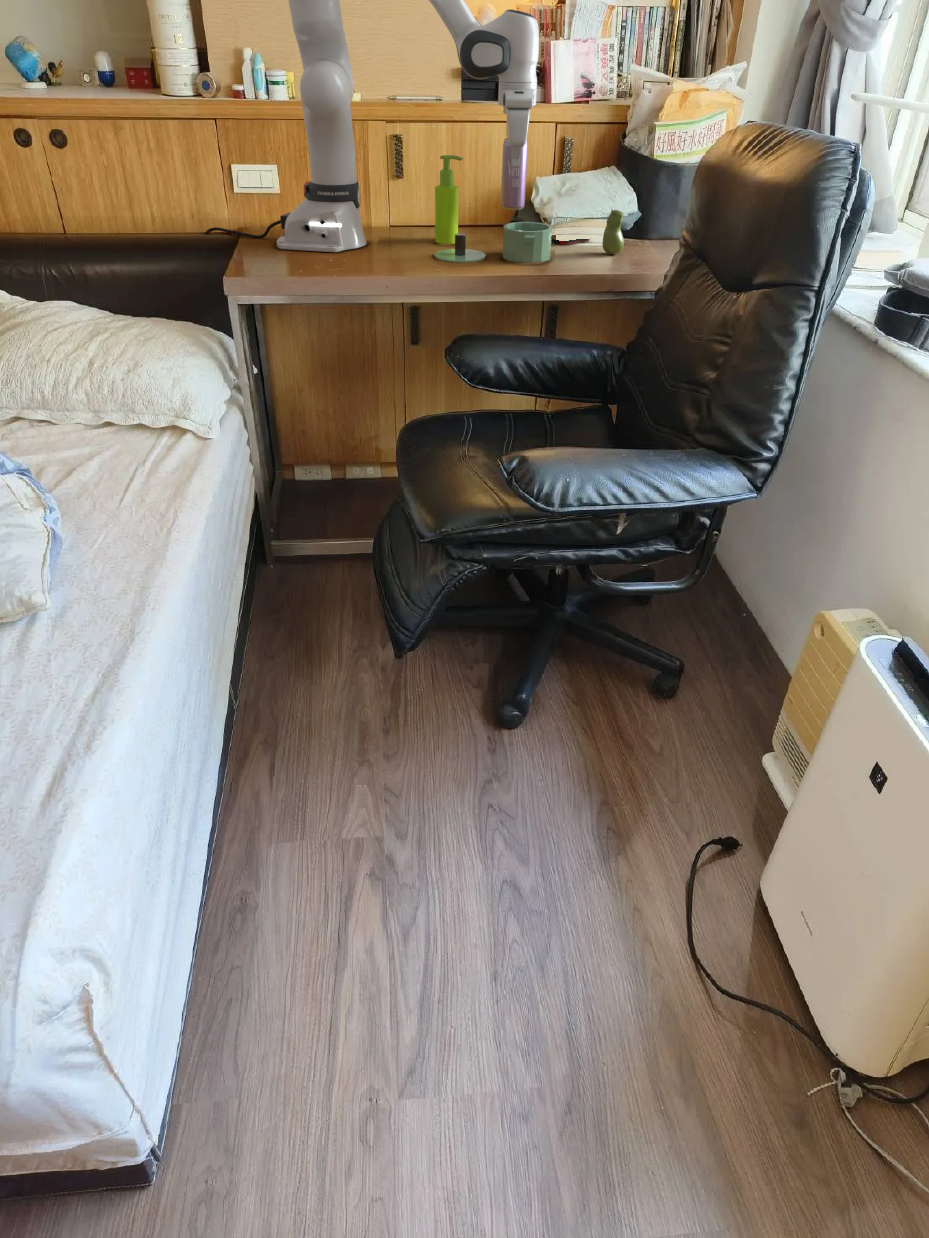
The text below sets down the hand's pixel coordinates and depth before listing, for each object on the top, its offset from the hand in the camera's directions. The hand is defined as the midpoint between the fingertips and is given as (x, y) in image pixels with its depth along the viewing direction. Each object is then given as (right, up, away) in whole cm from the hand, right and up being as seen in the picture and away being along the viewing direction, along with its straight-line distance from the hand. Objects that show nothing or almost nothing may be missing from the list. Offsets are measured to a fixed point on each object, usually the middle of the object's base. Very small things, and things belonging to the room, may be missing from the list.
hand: (514, 163), depth 200 cm
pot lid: (-13, -23, -2) cm, 27 cm away
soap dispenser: (-16, -14, +13) cm, 25 cm away
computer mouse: (+16, -11, +17) cm, 26 cm away
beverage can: (0, -8, +6) cm, 10 cm away
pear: (+25, -20, +6) cm, 32 cm away
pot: (+3, -23, 0) cm, 24 cm away
